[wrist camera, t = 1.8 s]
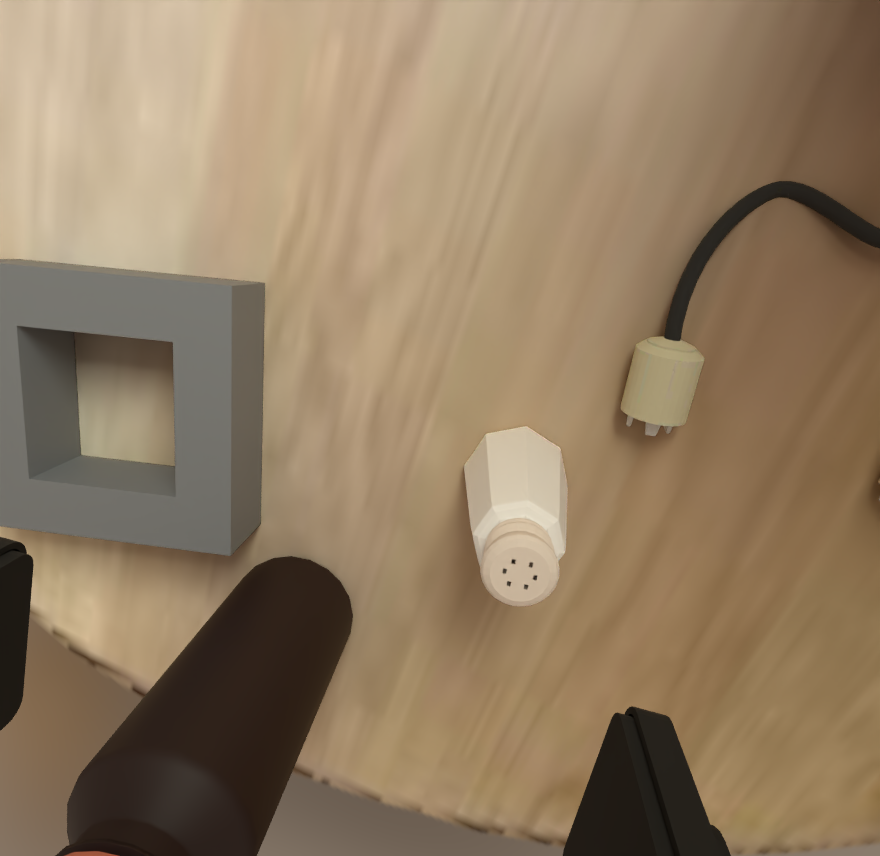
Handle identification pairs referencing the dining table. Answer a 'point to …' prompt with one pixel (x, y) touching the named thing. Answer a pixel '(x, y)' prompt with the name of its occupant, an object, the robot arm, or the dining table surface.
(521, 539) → the pepper shaker
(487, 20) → the dining table surface
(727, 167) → the dining table surface
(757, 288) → the dining table surface
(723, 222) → the cable
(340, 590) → the dark brown water bottle
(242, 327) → the frame
